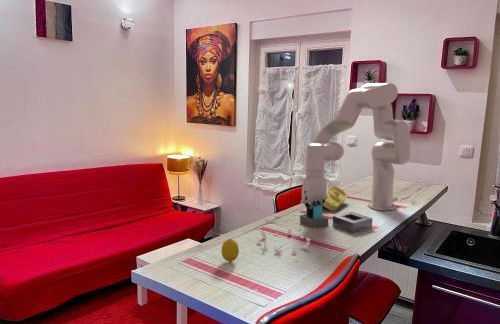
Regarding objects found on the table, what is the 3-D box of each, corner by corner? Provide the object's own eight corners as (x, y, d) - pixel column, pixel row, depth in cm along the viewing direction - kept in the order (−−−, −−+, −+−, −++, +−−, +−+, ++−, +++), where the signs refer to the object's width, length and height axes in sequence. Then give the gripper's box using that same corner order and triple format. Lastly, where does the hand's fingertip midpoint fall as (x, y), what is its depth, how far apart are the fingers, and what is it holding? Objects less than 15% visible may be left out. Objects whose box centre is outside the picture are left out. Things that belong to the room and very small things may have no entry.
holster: (313, 218, 162) (313, 212, 161) (328, 224, 154) (328, 217, 154) (300, 221, 158) (300, 215, 158) (314, 228, 150) (314, 221, 150)
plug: (313, 220, 160) (313, 199, 158) (321, 224, 155) (322, 202, 153) (306, 222, 157) (306, 200, 156) (314, 226, 153) (315, 203, 151)
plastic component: (336, 207, 171) (317, 195, 175) (329, 220, 174) (310, 208, 178) (350, 194, 187) (332, 183, 191) (343, 206, 191) (326, 195, 195)
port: (351, 220, 159) (351, 211, 159) (371, 227, 150) (372, 218, 150) (332, 225, 154) (333, 215, 153) (352, 233, 145) (353, 223, 144)
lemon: (225, 267, 116) (224, 243, 115) (219, 260, 121) (219, 237, 120) (241, 264, 118) (241, 240, 117) (235, 257, 123) (234, 234, 122)
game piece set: (246, 242, 137) (246, 232, 136) (287, 231, 148) (287, 222, 147) (280, 261, 121) (280, 249, 120) (323, 246, 133) (323, 236, 132)
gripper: (323, 170, 160) (322, 210, 163) (293, 174, 151) (292, 217, 154) (336, 172, 154) (335, 215, 157) (305, 177, 145) (304, 222, 148)
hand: (314, 215), depth 156 cm, fingers closed on plug, 4 cm apart
